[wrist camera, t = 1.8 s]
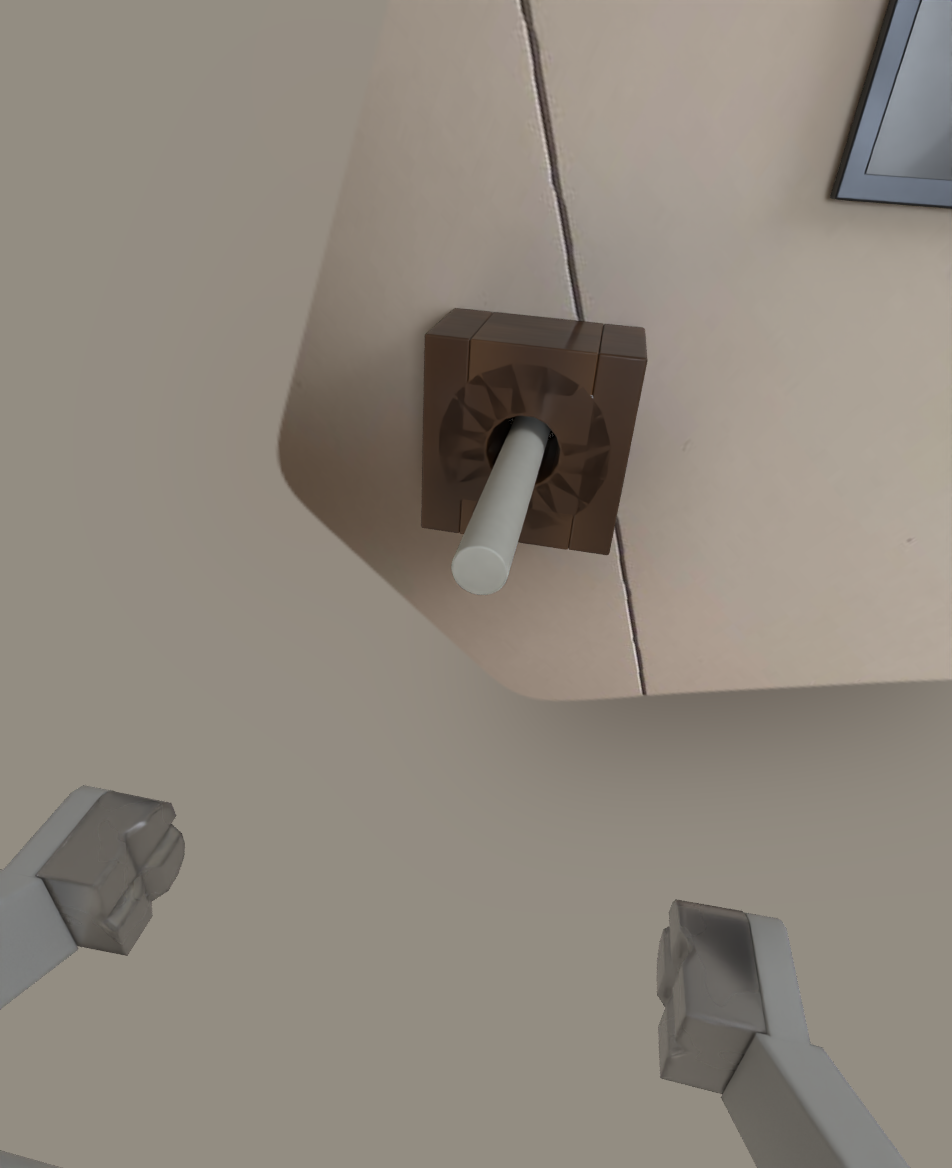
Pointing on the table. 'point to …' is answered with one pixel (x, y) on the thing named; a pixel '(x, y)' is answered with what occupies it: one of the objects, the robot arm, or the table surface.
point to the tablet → (904, 113)
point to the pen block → (534, 389)
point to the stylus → (501, 510)
